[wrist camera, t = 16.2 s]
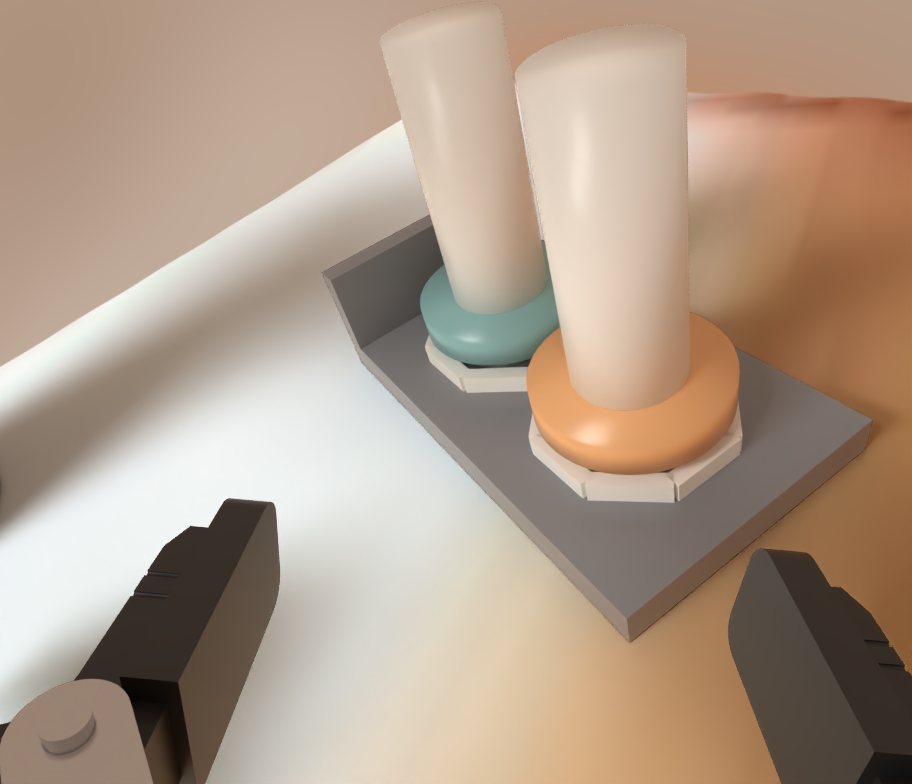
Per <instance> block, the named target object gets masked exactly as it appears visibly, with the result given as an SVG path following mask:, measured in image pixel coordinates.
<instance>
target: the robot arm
mask: <svg viewBox="0 0 912 784" xmlns="http://www.w3.org/2000/svg"><path fill="white" fill-rule="evenodd" d="M279 583H280V563H279V548H278V533H277V519H276V509H275V505H274V504H273V503H272V502H264V501H253V500H242V499H231V498H228V499H226V500H225V501H224V502H223V504H222V505H221V507H220V509H219V510H218V512H217V514H216V515H215V517H214V519H213V520H212V522H211V524H210V525H209V527H208V528H206V527H195V526H190V527H189V528H187V529H186V530H185V531H183V532H182V533H181V534H179V535H178V536H177V537H175V538H174V539H173V540H171V541H170V542H169V543H167V544H166V545H165V546H164V547H163V548H162V550H161V551H160V553H159V554H158V556H157V557H156V559H155V560H154V562H153V563H152V565H151V566H150V568H149V569H148V573H147V576H146V575H144V577H143V578H142V580H141V581H140V583H139V584H138V586H137V587H136V589H135V590H134V595H133V596H130V598H129V599H128V601H127V602H126V604H125V605H124V607H123V608H122V610H121V611H120V613H119V614H118V616H117V617H116V619H115V620H114V622H113V623H112V625H111V626H110V628H109V629H108V631H107V632H106V634H105V635H104V637H103V638H102V640H101V642H100V643H99V645H98V646H97V648H96V649H95V651H94V652H93V654H92V655H91V657H90V658H89V660H88V661H87V663H86V664H85V666H84V667H83V669H82V670H81V672H80V673H79V675H78V676H77V677H76V678H75V680H74V681H72V682H69V683H66V684H62V685H60V686H57V687H55V688H53V689H51V690H49V691H47V692H45V693H43V694H42V695H40V696H38V697H37V698H35V699H34V700H33V701H31V702H30V703H29V704H28V705H26V706H25V707H24V708H23V709H22V710H21V711H20V712H19V713H18V714H17V715H16V716H15V717H14V719H13V720H12V721H11V722H9V723H5V724H1V725H0V784H205V782H206V780H207V777H208V775H209V772H210V769H211V767H212V764H213V762H214V759H215V757H216V754H217V752H218V749H219V747H220V744H221V742H222V739H223V737H224V734H225V732H226V729H227V727H228V724H229V721H230V719H231V716H232V714H233V711H234V709H235V706H236V704H237V701H238V699H239V696H240V694H241V691H242V689H243V686H244V684H245V681H246V679H247V676H248V673H249V671H250V668H251V666H252V663H253V661H254V658H255V656H256V653H257V651H258V648H259V646H260V643H261V641H262V638H263V636H264V633H265V631H266V628H267V625H268V623H269V620H270V618H271V615H272V613H273V610H274V607H275V604H276V600H277V596H278V590H279ZM728 636H729V645H730V650H731V653H732V656H733V659H734V662H735V664H736V667H737V669H738V672H739V675H740V677H741V680H742V682H743V685H744V688H745V690H746V693H747V695H748V698H749V701H750V703H751V706H752V708H753V711H754V714H755V716H756V719H757V721H758V724H759V727H760V729H761V732H762V734H763V737H764V740H765V742H766V745H767V747H768V750H769V752H770V755H771V758H772V760H773V763H774V765H775V768H776V771H777V773H778V776H779V778H780V781H781V784H912V676H911V674H910V673H909V672H908V671H905V669H904V666H905V665H904V664H903V662H902V661H901V659H900V658H899V656H898V655H897V653H896V652H895V650H894V648H893V647H889V641H888V639H887V638H886V636H885V635H884V633H883V632H882V630H881V629H880V627H879V626H878V624H877V623H876V621H875V620H874V618H873V617H872V615H871V613H869V612H868V611H867V610H866V609H865V608H864V607H863V606H862V605H860V604H859V603H858V602H857V601H856V600H855V599H854V598H852V597H851V596H850V595H849V594H848V593H847V592H846V591H845V590H843V589H842V588H839V587H831V586H830V585H829V583H828V582H827V580H826V578H825V577H824V575H823V573H822V572H821V570H820V569H819V567H818V565H817V564H816V562H815V560H814V559H813V558H812V557H811V556H810V555H809V554H807V553H804V552H794V551H783V550H772V549H761V548H760V549H757V550H756V551H755V552H754V553H753V555H752V557H751V559H750V562H749V564H748V567H747V570H746V573H745V575H744V578H743V581H742V584H741V587H740V589H739V592H738V595H737V598H736V601H735V603H734V606H733V609H732V612H731V615H730V619H729V627H728Z"/></svg>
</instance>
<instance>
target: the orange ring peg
mask: <svg viewBox="0 0 912 784" xmlns="http://www.w3.org/2000/svg"><path fill="white" fill-rule="evenodd" d="M686 67H687V63H686V38H685V36H684V35H683V33H681V32H680V31H679V30H676V29H674V28H671V27H668V26H663V25H655V24H630V25H619V26H612V27H606V28H601V29H596V30H592V31H588V32H584V33H580V34H577V35H574V36H571V37H568V38H565V39H562V40H560V41H558V42H555V43H553V44H551V45H548V46H547V47H544V48H543V49H541V50H539V51H537V52H536V53H534V54H533V55H531V56H530V57H528V58H527V59H526V60H525V61H524V62H522V64H521V65H520V66H519V67H518V69H517V71H516V73H515V80H516V86H517V91H518V97H519V102H520V108H521V113H522V119H523V124H524V130H525V135H526V141H527V146H528V152H529V157H530V163H531V169H532V174H533V180H534V185H535V191H536V196H537V202H538V207H539V213H540V218H541V224H542V229H543V235H544V240H545V246H546V251H547V257H548V262H549V268H550V273H551V279H552V284H553V290H554V295H555V301H556V307H557V312H558V318H559V323H560V328H558V329H557V330H556V331H554V332H553V333H552V334H551V335H550V336H548V337H547V338H546V339H545V340H544V341H543V343H542V344H541V345H540V346H539V347H538V349H537V350H536V352H535V353H534V355H533V357H532V359H531V361H530V363H529V367H528V371H527V379H526V384H527V392H528V396H529V400H530V404H531V408H532V412H533V416H534V420H535V423H536V426H537V428H538V430H539V432H540V434H541V436H542V437H543V439H544V440H545V441H546V443H547V444H548V445H549V446H550V447H551V448H552V449H553V450H554V451H555V452H557V453H558V454H560V455H561V456H562V457H564V458H565V459H567V460H569V461H571V462H573V463H575V464H577V465H579V466H582V467H585V468H587V469H591V470H594V471H598V472H603V473H609V474H617V475H642V474H650V473H657V472H661V471H665V470H669V469H673V468H676V467H678V466H681V465H684V464H686V463H688V462H690V461H692V460H694V459H696V458H698V457H700V456H701V455H703V454H704V453H706V452H707V451H709V450H710V449H711V448H712V447H713V446H715V445H716V444H717V443H718V442H719V441H720V440H721V439H722V437H723V436H724V435H725V434H726V433H727V431H728V429H729V428H730V426H731V424H732V423H733V420H734V417H735V415H736V411H737V405H738V391H739V373H740V372H739V360H738V356H737V353H736V351H735V348H734V346H733V344H732V343H731V341H730V340H729V339H728V337H727V336H726V335H725V334H724V333H723V332H722V331H721V330H720V329H719V328H718V327H716V326H715V325H714V324H712V323H711V322H709V321H708V320H706V319H704V318H703V317H701V316H698V315H696V314H694V313H691V312H690V307H689V224H688V141H687V68H686Z"/></svg>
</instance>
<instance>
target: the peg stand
mask: <svg viewBox="0 0 912 784" xmlns="http://www.w3.org/2000/svg"><path fill="white" fill-rule="evenodd" d="M380 45H381V49H382V52H383V56H384V59H385V63H386V66H387V70H388V73H389V76H390V80H391V83H392V87H393V90H394V93H395V97H396V100H397V103H398V107H399V111H400V114H401V117H402V121H403V124H404V128H405V131H406V134H407V138H408V141H409V145H410V148H411V152H412V155H413V158H414V162H415V165H416V169H417V172H418V175H419V179H420V182H421V186H422V189H423V193H424V196H425V199H426V203H427V206H428V210H429V213H430V215H428V216H426V217H424V218H422V219H420V220H419V221H417V222H415V223H413V224H411V225H409V226H407V227H406V228H404V229H402V230H400V231H398V232H396V233H394V234H393V235H391V236H389V237H387V238H385V239H383V240H381V241H380V242H378V243H376V244H374V245H372V246H370V247H368V248H367V249H365V250H363V251H361V252H359V253H357V254H355V255H354V256H352V257H350V258H348V259H346V260H344V261H342V262H341V263H339V264H337V265H335V266H333V267H331V268H329V269H328V270H326V271H324V272H322V274H323V276H324V279H325V281H326V283H327V285H328V288H329V290H330V292H331V294H332V297H333V299H334V301H335V304H336V306H337V308H338V310H339V313H340V315H341V317H342V319H343V322H344V324H345V326H346V328H347V331H348V333H349V335H350V337H351V340H352V342H353V344H354V346H355V349H356V351H357V353H358V355H359V358H360V360H361V362H362V364H363V365H364V366H365V367H366V368H367V369H368V370H369V371H370V372H371V373H372V374H373V375H374V376H375V377H376V378H377V379H378V380H379V381H380V382H381V384H382V385H383V386H384V387H385V388H386V389H387V390H388V391H389V392H390V393H391V394H392V395H393V396H394V397H395V398H396V399H397V400H398V401H399V402H400V403H401V404H402V405H403V406H404V408H405V409H406V410H407V411H408V412H409V413H410V414H411V415H412V416H413V417H414V418H415V419H416V420H417V421H418V422H419V423H420V424H421V425H422V426H423V427H424V428H425V429H426V430H427V432H428V433H429V434H430V435H431V436H432V437H433V438H434V439H435V440H436V441H437V442H438V443H439V444H440V445H441V446H442V447H443V448H444V449H445V450H446V451H447V452H448V453H449V455H450V456H451V457H452V458H453V459H454V460H455V461H456V462H457V463H458V464H459V465H460V466H461V467H462V468H463V469H464V470H465V471H466V472H467V473H468V474H469V475H470V476H471V477H472V479H473V480H474V481H475V482H476V483H477V484H478V485H479V486H480V487H481V488H482V489H483V490H484V491H485V492H486V493H487V494H488V495H489V496H490V497H491V498H492V499H493V500H494V501H495V503H496V504H497V505H498V506H499V507H500V508H501V509H502V510H503V511H504V512H505V513H506V514H507V515H508V516H509V517H510V518H511V519H512V520H513V521H514V522H515V523H516V524H517V526H518V527H519V528H520V529H521V530H522V531H523V532H524V533H525V534H526V535H527V536H528V537H529V538H530V539H531V540H532V541H533V542H534V543H535V544H536V545H537V546H538V547H539V548H540V550H541V551H542V552H543V553H544V554H545V555H546V556H547V557H548V558H549V559H550V560H551V561H552V562H553V563H554V564H555V565H556V566H557V567H558V568H559V569H560V570H561V571H562V572H563V574H564V575H565V576H566V577H567V578H568V579H569V580H570V581H571V582H572V583H573V584H574V585H575V586H576V587H577V588H578V589H579V590H580V591H581V592H582V593H583V594H584V595H585V596H586V598H587V599H588V600H589V601H590V602H591V603H592V604H593V605H594V606H595V607H596V608H597V609H598V610H599V611H600V612H601V613H602V614H603V615H604V616H605V617H606V618H607V619H608V621H609V622H610V623H611V624H612V625H613V626H614V627H615V628H616V629H617V630H618V631H619V632H620V633H621V634H622V635H623V636H624V637H625V638H626V639H627V640H628V641H629V642H631V641H632V640H634V639H635V638H636V637H637V636H639V635H640V634H641V633H642V632H643V631H645V630H646V629H647V628H648V627H650V626H651V625H652V624H653V623H654V622H656V621H657V620H658V619H659V618H660V617H662V616H663V615H664V614H665V613H667V612H668V611H669V610H670V609H671V608H673V607H674V606H675V605H676V604H677V603H679V602H680V601H681V600H682V599H684V598H685V597H686V596H687V595H688V594H690V593H691V592H692V591H693V590H695V589H696V588H697V587H698V586H699V585H701V584H702V583H703V582H704V581H705V580H707V579H708V578H709V577H710V576H712V575H713V574H714V573H715V572H716V571H718V570H719V569H720V568H721V567H722V566H724V565H725V564H726V563H727V562H729V561H730V560H731V559H732V558H733V557H735V556H736V555H737V554H738V553H740V552H741V551H742V550H743V549H744V548H746V547H747V546H748V545H749V544H750V543H752V542H753V541H754V540H755V539H757V538H758V537H759V536H760V535H761V534H763V533H764V532H765V531H766V530H767V529H769V528H770V527H771V526H772V525H774V524H775V523H776V522H777V521H778V520H780V519H781V518H782V517H783V516H785V515H786V514H787V513H788V512H789V511H791V510H792V509H793V508H794V507H795V506H797V505H798V504H799V503H800V502H802V501H803V500H804V499H805V498H806V497H808V496H809V495H810V494H811V493H812V492H814V491H815V490H816V489H817V488H819V487H820V486H821V485H822V484H823V483H825V482H826V481H827V480H828V479H830V478H831V477H832V476H833V475H834V474H836V473H837V472H838V471H839V470H840V469H842V468H843V467H844V466H845V465H847V464H848V463H849V462H850V461H851V460H853V459H854V458H855V457H856V456H857V455H859V454H860V453H861V452H862V451H864V450H865V448H866V445H867V441H868V437H869V433H870V430H871V426H872V422H873V419H871V418H869V417H867V416H865V415H863V414H861V413H859V412H858V411H856V410H854V409H852V408H850V407H848V406H846V405H844V404H842V403H840V402H839V401H837V400H835V399H833V398H831V397H829V396H827V395H825V394H823V393H821V392H820V391H818V390H816V389H814V388H812V387H810V386H808V385H806V384H804V383H802V382H801V381H799V380H797V379H795V378H793V377H791V376H789V375H787V374H785V373H783V372H782V371H780V370H778V369H776V368H774V367H772V366H770V365H768V364H766V363H764V362H763V361H761V360H759V359H757V358H755V357H753V356H751V355H749V354H747V353H745V352H744V351H742V350H740V349H738V348H736V347H734V348H735V351H736V353H737V356H738V360H739V372H740V373H739V391H738V405H737V411H736V415H735V417H734V420H733V423H732V424H731V426H730V428H729V429H728V431H727V433H726V434H725V435H724V436H723V437H722V439H721V440H720V441H719V442H718V443H717V444H716V445H715V446H713V447H712V448H711V449H710V450H709V451H707V452H706V453H704V454H703V455H701V456H700V457H698V458H696V459H694V460H692V461H690V462H688V463H686V464H684V465H681V466H678V467H676V468H673V469H669V470H665V471H661V472H657V473H650V474H642V475H617V474H609V473H603V472H598V471H594V470H591V469H587V468H585V467H582V466H579V465H577V464H575V463H573V462H571V461H569V460H567V459H565V458H564V457H562V456H561V455H560V454H558V453H557V452H555V451H554V450H553V449H552V448H551V447H550V446H549V445H548V444H547V443H546V441H545V440H544V439H543V437H542V436H541V434H540V432H539V430H538V428H537V426H536V423H535V420H534V416H533V412H532V408H531V404H530V400H529V396H528V392H527V384H526V379H527V371H528V367H529V363H530V361H531V359H532V357H533V355H534V353H535V352H536V350H537V349H538V347H539V346H540V345H541V344H542V343H543V341H544V340H545V339H546V338H547V337H548V336H550V335H551V334H552V333H553V332H554V331H556V330H557V329H558V328H560V323H559V318H558V312H557V307H556V301H555V295H554V290H553V284H552V279H551V273H550V268H549V262H548V257H547V251H546V246H545V241H544V240H541V238H540V232H539V226H538V220H537V215H536V209H535V203H534V197H533V191H532V186H531V180H530V174H529V168H528V163H527V157H526V151H525V145H524V139H523V134H522V128H521V122H520V116H519V111H518V105H517V99H516V93H515V87H514V82H513V76H512V70H511V64H510V58H509V53H508V47H507V41H506V35H505V30H504V24H503V18H502V12H501V8H500V6H499V5H498V4H496V3H492V2H469V3H461V4H456V5H451V6H447V7H443V8H439V9H436V10H432V11H429V12H426V13H423V14H421V15H418V16H415V17H413V18H410V19H408V20H406V21H404V22H402V23H400V24H398V25H396V26H395V27H393V28H392V29H390V30H389V31H387V32H386V33H385V34H384V35H383V36H382V37H381V39H380Z"/></svg>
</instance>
